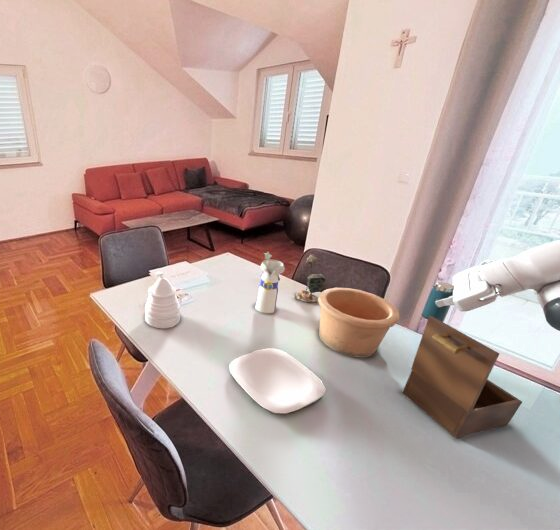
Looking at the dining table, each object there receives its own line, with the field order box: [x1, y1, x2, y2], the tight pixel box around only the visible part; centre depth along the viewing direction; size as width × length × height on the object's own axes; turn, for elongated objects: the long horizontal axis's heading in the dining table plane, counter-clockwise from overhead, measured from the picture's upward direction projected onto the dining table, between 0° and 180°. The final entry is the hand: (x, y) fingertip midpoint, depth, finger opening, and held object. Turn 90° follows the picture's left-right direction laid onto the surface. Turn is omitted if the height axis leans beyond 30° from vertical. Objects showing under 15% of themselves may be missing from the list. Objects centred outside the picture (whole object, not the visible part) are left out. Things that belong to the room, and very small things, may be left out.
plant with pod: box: [294, 254, 326, 303], centre depth 125 cm, size 8×11×20 cm
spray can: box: [421, 281, 454, 323], centre depth 91 cm, size 5×5×11 cm
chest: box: [401, 370, 523, 439], centre depth 78 cm, size 16×14×8 cm
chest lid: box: [410, 316, 500, 413], centre depth 71 cm, size 16×14×4 cm
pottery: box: [317, 287, 400, 358], centre depth 101 cm, size 22×22×14 cm
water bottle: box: [254, 251, 286, 315], centre depth 117 cm, size 8×9×25 cm
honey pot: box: [144, 270, 181, 329], centre depth 112 cm, size 13×13×18 cm
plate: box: [228, 347, 327, 415], centre depth 87 cm, size 22×22×2 cm
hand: (436, 299), depth 91 cm, fingers closed on spray can, 5 cm apart
